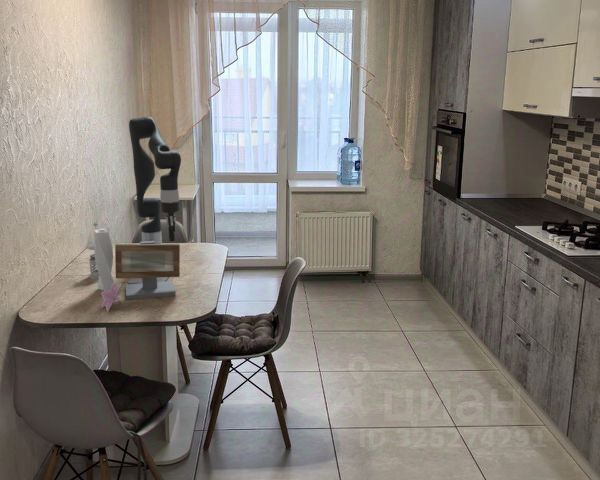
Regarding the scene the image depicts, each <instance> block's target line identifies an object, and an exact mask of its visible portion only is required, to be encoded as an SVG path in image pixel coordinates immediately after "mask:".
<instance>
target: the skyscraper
mask: <svg viewBox="0 0 600 480" xmlns="http://www.w3.org/2000/svg"><path fill="white" fill-rule="evenodd" d="M93 244H94V250H93V251H94V254H95V261H96V266H97V268H96V269H98V272H99V279H98V281H97V290H99V289H101V290H100V291H103V290H104V291H105V290H110V288H111V286H112V284H113V283H114V286H116V284H115V282H114V279H113V278H114V277H113V276H112V270H113V263H114V250H113V243H112V239H111V236H110V226H109V225H107V226H106V228H99V229H97V228H95V230H94V243H93Z"/></svg>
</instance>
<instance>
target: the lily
mask: <svg viewBox="0 0 600 480" xmlns="http://www.w3.org/2000/svg"><path fill="white" fill-rule="evenodd" d="M114 285H115V282H114V283H113V284H112V286H111V288H110V290H105V291H103V290H102V291H101V293H100V295H101V297H102V298H103V300H104V301H103V302H102V304H101V307H100V308H101V309H102V308H104V307H105V311H106V313H109V311H110V308H111V307H112V304H113V303H116V302H118V303H119V304H120V305H121V306H123V305H122V302H121V301H120V297H119V295H118V294H117V293H118V292H119V290H120V288H121V286H122V283H119V284H117V285H115V286H114Z"/></svg>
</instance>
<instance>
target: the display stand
mask: <svg viewBox="0 0 600 480" xmlns="http://www.w3.org/2000/svg"><path fill="white" fill-rule="evenodd" d="M139 244H155V241H144V242H142V241H139ZM169 296H170V297H171V296H176V288H175V284H174V281H173V280H167V281H164V282H157V278H142V283H139V284H127V283H126V284H125V299H126V300H135V299H136V300H138V299H146V298H147V299H149V298H158V297H159V298H162V297H169Z"/></svg>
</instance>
